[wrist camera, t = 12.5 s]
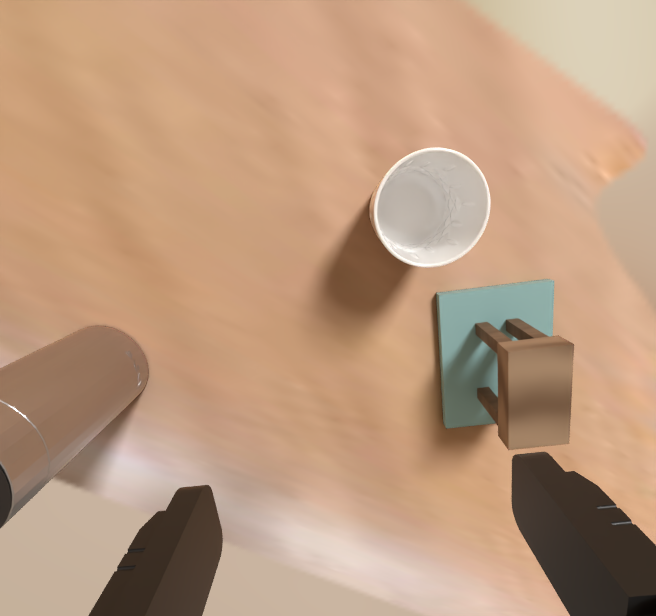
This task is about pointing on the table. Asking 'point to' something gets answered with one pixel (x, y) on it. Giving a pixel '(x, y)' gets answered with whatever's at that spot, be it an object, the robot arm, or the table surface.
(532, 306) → the board
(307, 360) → the table surface
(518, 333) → the tan slab with prongs
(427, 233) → the white cup
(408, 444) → the table surface
